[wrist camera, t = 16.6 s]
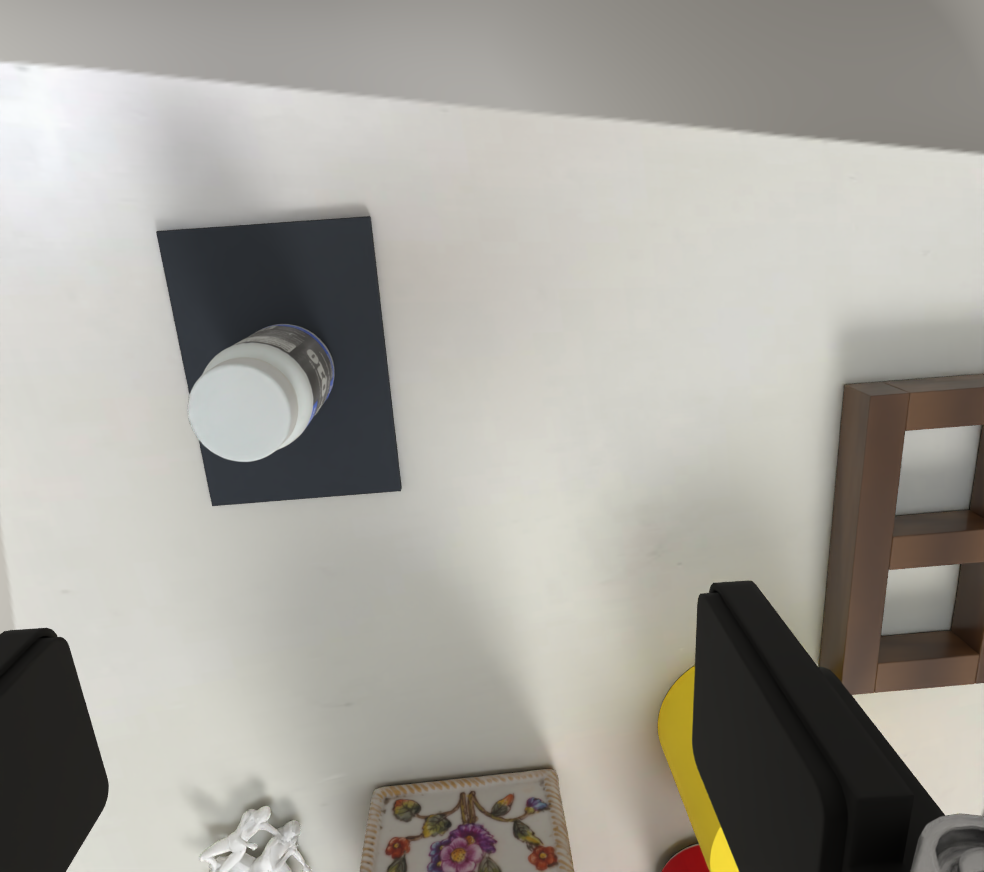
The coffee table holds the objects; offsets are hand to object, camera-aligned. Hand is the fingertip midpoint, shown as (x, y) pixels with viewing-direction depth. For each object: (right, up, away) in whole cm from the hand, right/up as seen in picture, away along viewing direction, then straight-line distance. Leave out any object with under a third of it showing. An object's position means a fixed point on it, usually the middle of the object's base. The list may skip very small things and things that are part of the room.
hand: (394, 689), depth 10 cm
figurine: (-13, -23, +35) cm, 43 cm away
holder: (+26, -2, +30) cm, 39 cm away
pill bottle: (-9, +7, +25) cm, 27 cm away
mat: (-9, +7, +25) cm, 28 cm away
